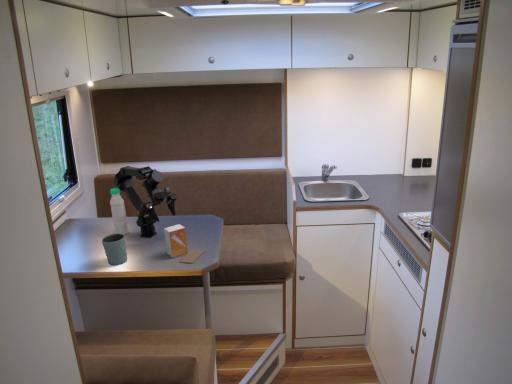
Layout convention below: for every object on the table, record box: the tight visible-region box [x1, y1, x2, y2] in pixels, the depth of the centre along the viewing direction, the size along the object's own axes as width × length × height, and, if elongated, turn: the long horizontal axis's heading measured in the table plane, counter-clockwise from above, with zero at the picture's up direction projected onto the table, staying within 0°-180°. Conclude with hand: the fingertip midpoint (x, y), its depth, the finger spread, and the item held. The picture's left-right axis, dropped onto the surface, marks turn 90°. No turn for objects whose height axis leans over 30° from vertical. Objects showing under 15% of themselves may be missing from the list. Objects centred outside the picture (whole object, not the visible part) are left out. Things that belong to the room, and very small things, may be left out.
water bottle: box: [109, 187, 130, 236], centre depth 229 cm, size 7×7×25 cm
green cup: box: [101, 233, 128, 267], centre depth 199 cm, size 10×10×12 cm
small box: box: [163, 223, 189, 258], centre depth 202 cm, size 8×6×13 cm
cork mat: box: [178, 249, 205, 265], centre depth 200 cm, size 6×12×1 cm, turn 162°
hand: (166, 218), depth 210 cm, fingers open, 9 cm apart
